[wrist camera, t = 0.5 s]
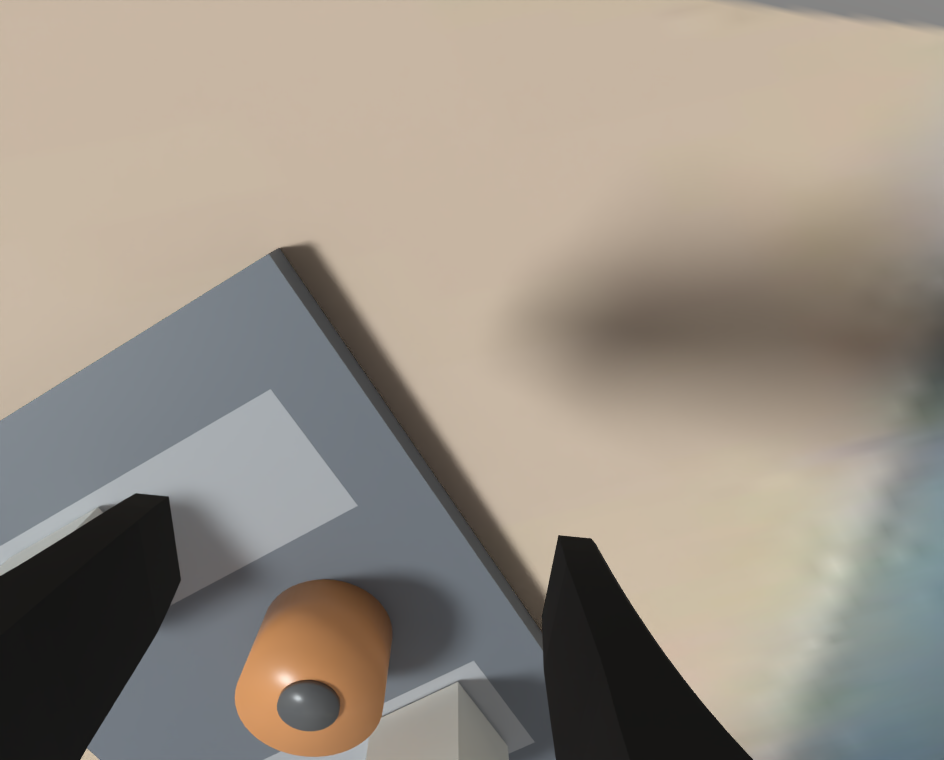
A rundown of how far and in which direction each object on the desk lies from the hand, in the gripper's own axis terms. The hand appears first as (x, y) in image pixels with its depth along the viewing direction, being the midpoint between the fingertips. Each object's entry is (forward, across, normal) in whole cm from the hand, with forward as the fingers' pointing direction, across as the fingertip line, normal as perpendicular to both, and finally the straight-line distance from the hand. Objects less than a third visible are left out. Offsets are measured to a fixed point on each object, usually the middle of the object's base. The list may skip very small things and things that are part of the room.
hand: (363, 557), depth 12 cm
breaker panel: (+9, +5, +12) cm, 16 cm away
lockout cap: (+8, +3, +11) cm, 14 cm away
